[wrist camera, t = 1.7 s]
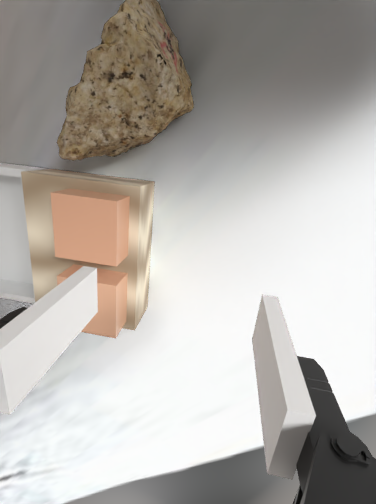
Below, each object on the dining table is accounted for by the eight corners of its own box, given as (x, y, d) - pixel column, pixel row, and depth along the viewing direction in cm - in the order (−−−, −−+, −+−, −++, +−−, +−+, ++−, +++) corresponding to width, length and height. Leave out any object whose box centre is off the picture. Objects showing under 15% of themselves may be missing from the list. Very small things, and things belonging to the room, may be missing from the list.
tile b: (73, 264, 29) (56, 276, 26) (127, 273, 28) (116, 286, 26) (76, 312, 31) (60, 327, 28) (126, 321, 30) (115, 338, 28)
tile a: (69, 188, 26) (50, 192, 23) (129, 196, 26) (117, 201, 23) (72, 246, 28) (55, 256, 25) (128, 255, 28) (116, 266, 25)
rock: (219, 129, 22) (134, -19, 15) (105, 203, 26) (1, 117, 20) (202, 80, 29) (140, -35, 22) (115, 146, 33) (41, 68, 27)
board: (52, 168, 31) (20, 171, 26) (154, 181, 30) (140, 186, 25) (61, 292, 37) (36, 312, 32) (147, 307, 35) (134, 330, 31)
